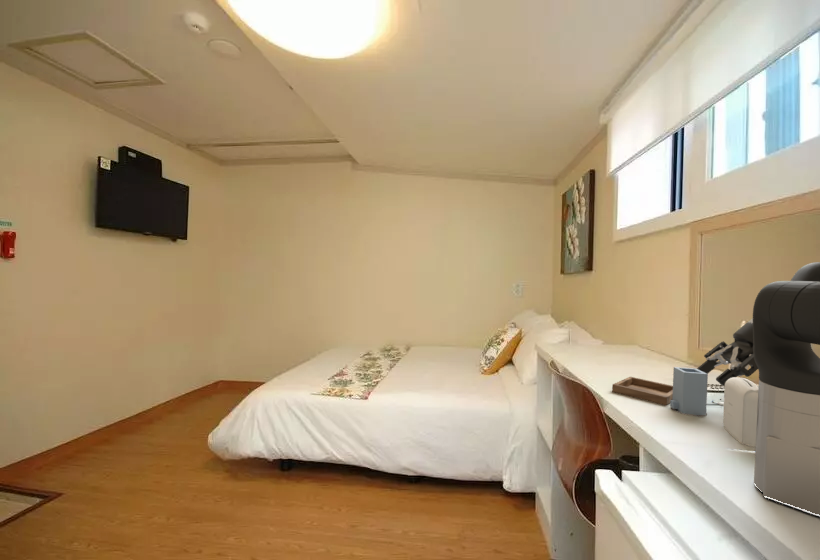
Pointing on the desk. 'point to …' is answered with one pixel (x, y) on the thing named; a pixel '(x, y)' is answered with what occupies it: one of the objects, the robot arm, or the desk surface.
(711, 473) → the desk surface
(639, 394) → the tray
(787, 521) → the desk surface
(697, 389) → the blue square pencil cup
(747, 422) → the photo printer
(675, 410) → the round base metal stand
